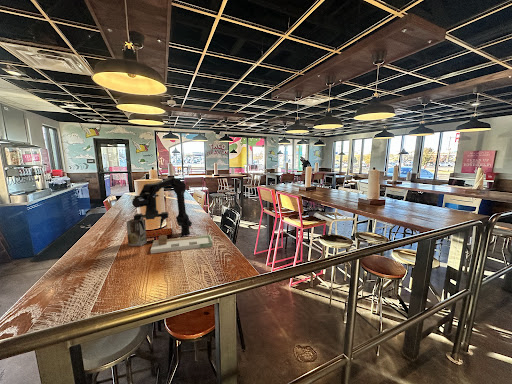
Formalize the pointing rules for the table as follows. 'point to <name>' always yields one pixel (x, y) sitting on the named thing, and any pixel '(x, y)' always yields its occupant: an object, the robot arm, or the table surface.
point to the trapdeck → (182, 244)
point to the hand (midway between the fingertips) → (152, 229)
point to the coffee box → (136, 233)
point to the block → (162, 240)
